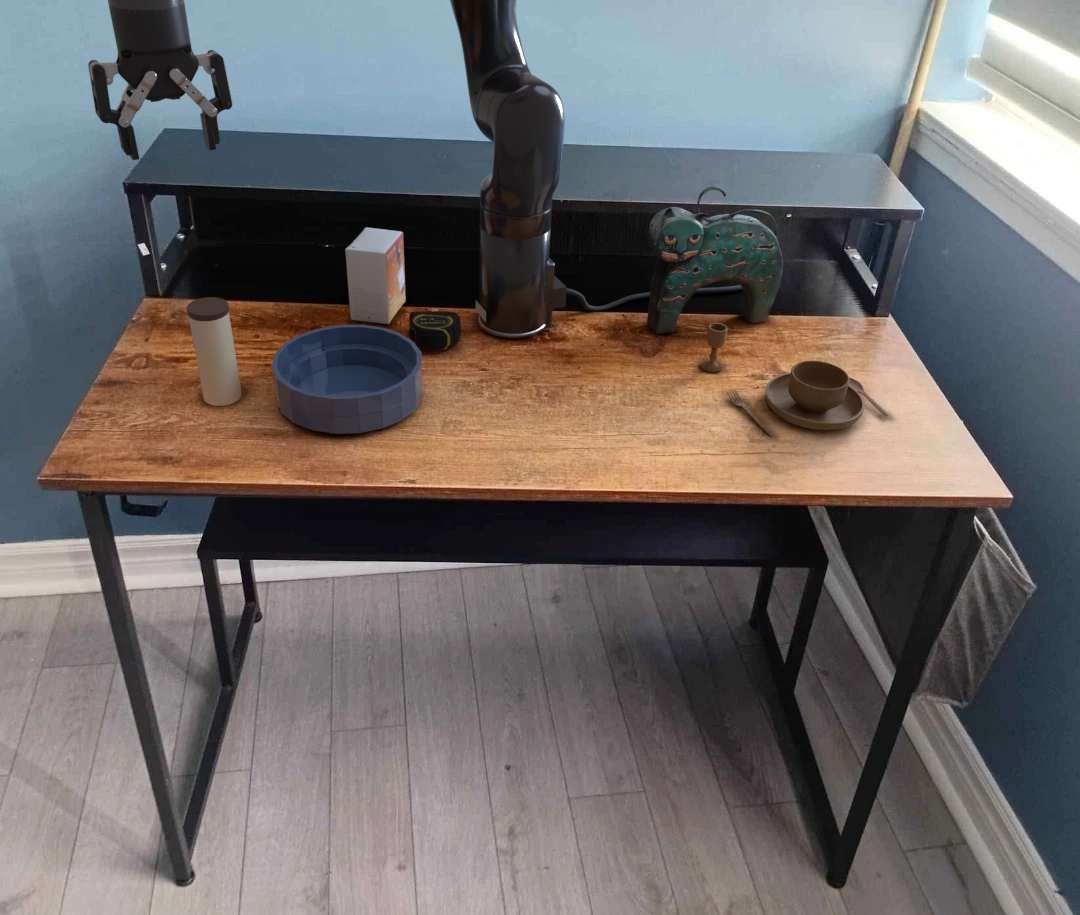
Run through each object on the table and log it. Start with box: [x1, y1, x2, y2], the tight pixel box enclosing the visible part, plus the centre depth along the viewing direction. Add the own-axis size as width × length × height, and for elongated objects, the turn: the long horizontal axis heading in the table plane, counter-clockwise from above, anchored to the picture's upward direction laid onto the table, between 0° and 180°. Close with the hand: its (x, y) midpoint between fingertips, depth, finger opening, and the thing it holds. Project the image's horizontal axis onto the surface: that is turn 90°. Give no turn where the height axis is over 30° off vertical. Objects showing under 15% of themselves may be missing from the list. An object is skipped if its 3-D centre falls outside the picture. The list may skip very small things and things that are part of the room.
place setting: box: [700, 322, 889, 437], centre depth 122 cm, size 18×20×6 cm
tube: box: [186, 296, 243, 407], centre depth 114 cm, size 4×4×12 cm
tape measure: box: [408, 310, 462, 352], centre depth 129 cm, size 7×7×4 cm
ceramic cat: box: [646, 186, 784, 335], centre depth 132 cm, size 20×6×20 cm, turn 106°
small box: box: [344, 227, 407, 325], centre depth 134 cm, size 8×6×10 cm
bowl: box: [271, 324, 424, 435], centre depth 116 cm, size 17×17×6 cm
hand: (173, 152), depth 112 cm, fingers open, 8 cm apart
